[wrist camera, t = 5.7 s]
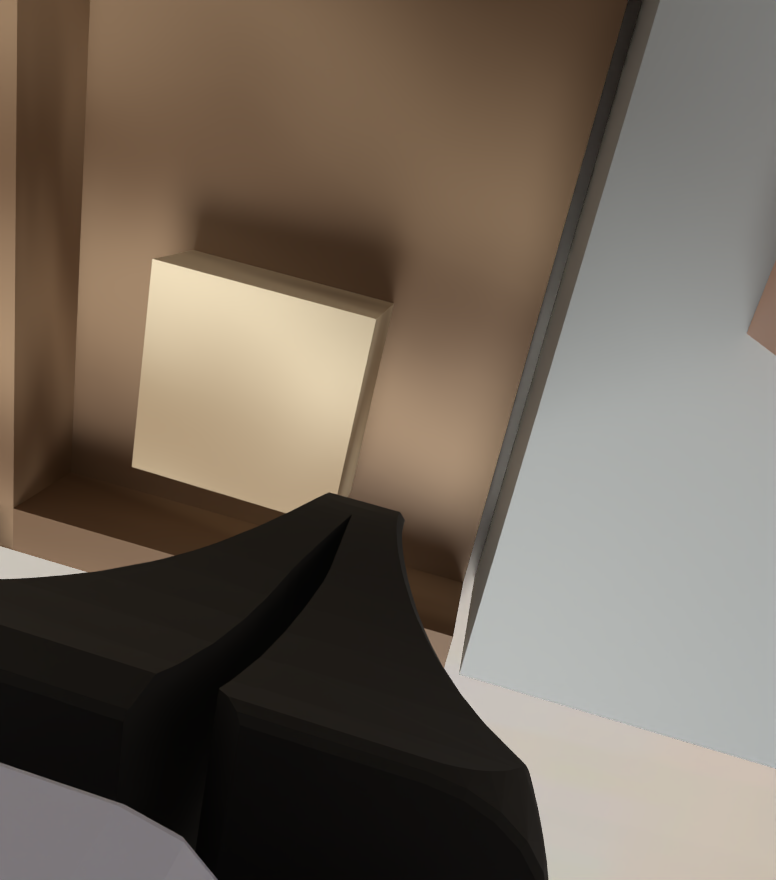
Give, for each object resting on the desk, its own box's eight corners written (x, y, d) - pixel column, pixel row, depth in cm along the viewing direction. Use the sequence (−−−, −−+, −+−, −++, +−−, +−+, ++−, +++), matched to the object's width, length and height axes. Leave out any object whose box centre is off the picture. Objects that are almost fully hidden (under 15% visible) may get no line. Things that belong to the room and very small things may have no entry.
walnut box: (454, 607, 20) (441, 677, 17) (44, 490, 21) (-30, 537, 19) (683, -200, 13) (721, -299, 11) (64, -299, 15) (-47, -409, 12)
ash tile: (132, 466, 17) (170, 438, 19) (330, 526, 17) (350, 492, 19) (152, 258, 15) (193, 249, 17) (376, 319, 15) (394, 303, 17)
